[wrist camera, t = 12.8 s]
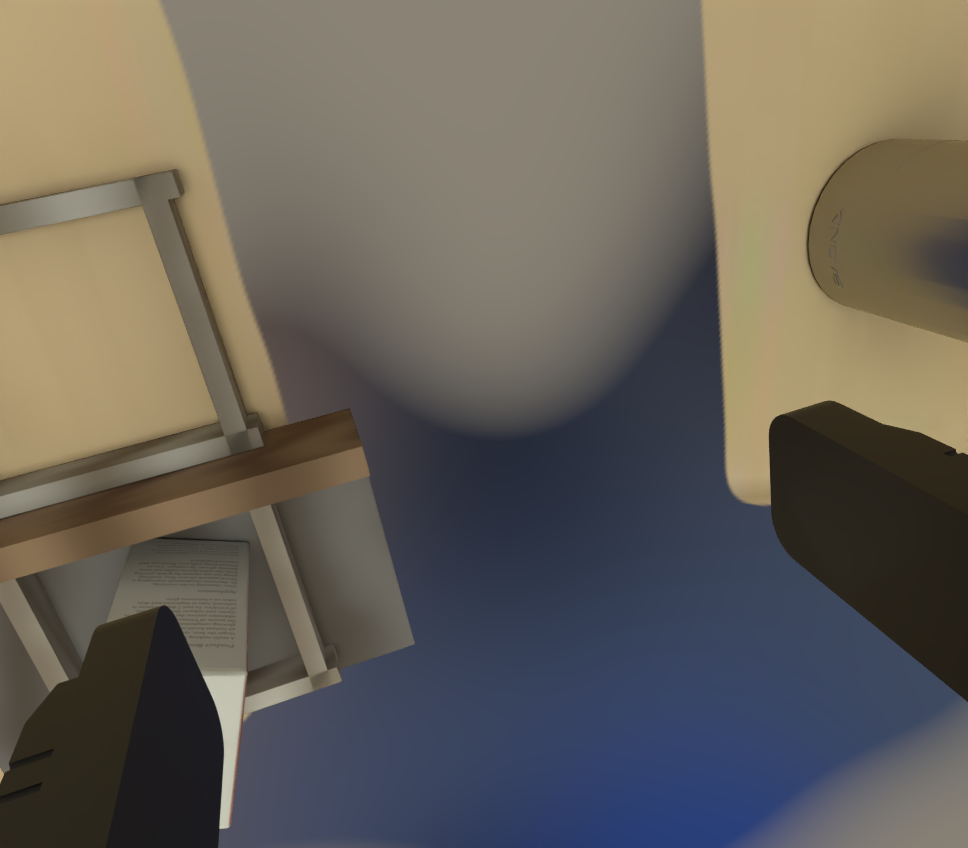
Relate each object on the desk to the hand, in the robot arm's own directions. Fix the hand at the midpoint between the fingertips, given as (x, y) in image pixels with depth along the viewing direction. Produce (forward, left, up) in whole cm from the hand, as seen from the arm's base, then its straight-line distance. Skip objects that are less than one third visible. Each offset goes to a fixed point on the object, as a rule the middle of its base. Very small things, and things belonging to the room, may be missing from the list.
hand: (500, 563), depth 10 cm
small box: (+11, +16, -27) cm, 33 cm away
